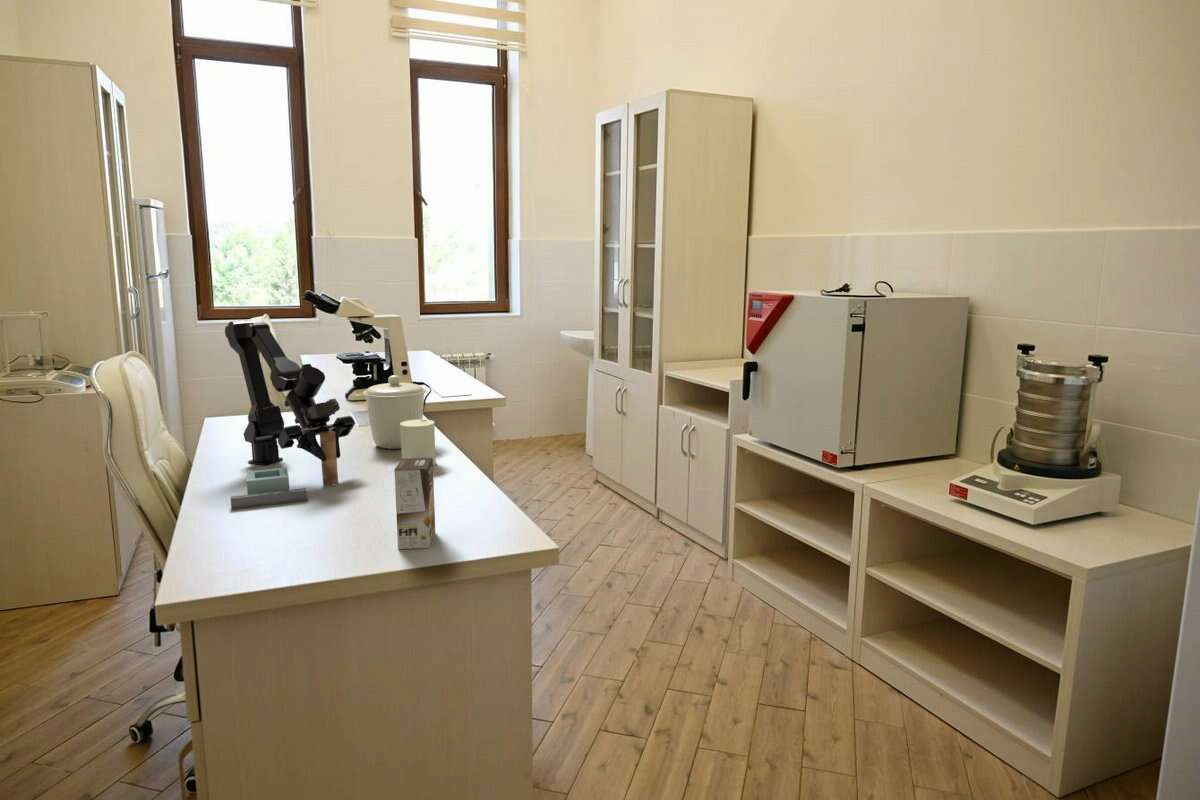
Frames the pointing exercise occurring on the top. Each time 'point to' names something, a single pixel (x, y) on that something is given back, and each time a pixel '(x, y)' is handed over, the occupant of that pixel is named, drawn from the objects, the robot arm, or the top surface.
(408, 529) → the coffee box
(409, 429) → the can
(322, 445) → the dowel
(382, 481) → the top surface
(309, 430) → the robot arm
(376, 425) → the canister
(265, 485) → the socket block
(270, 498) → the backstop bar
